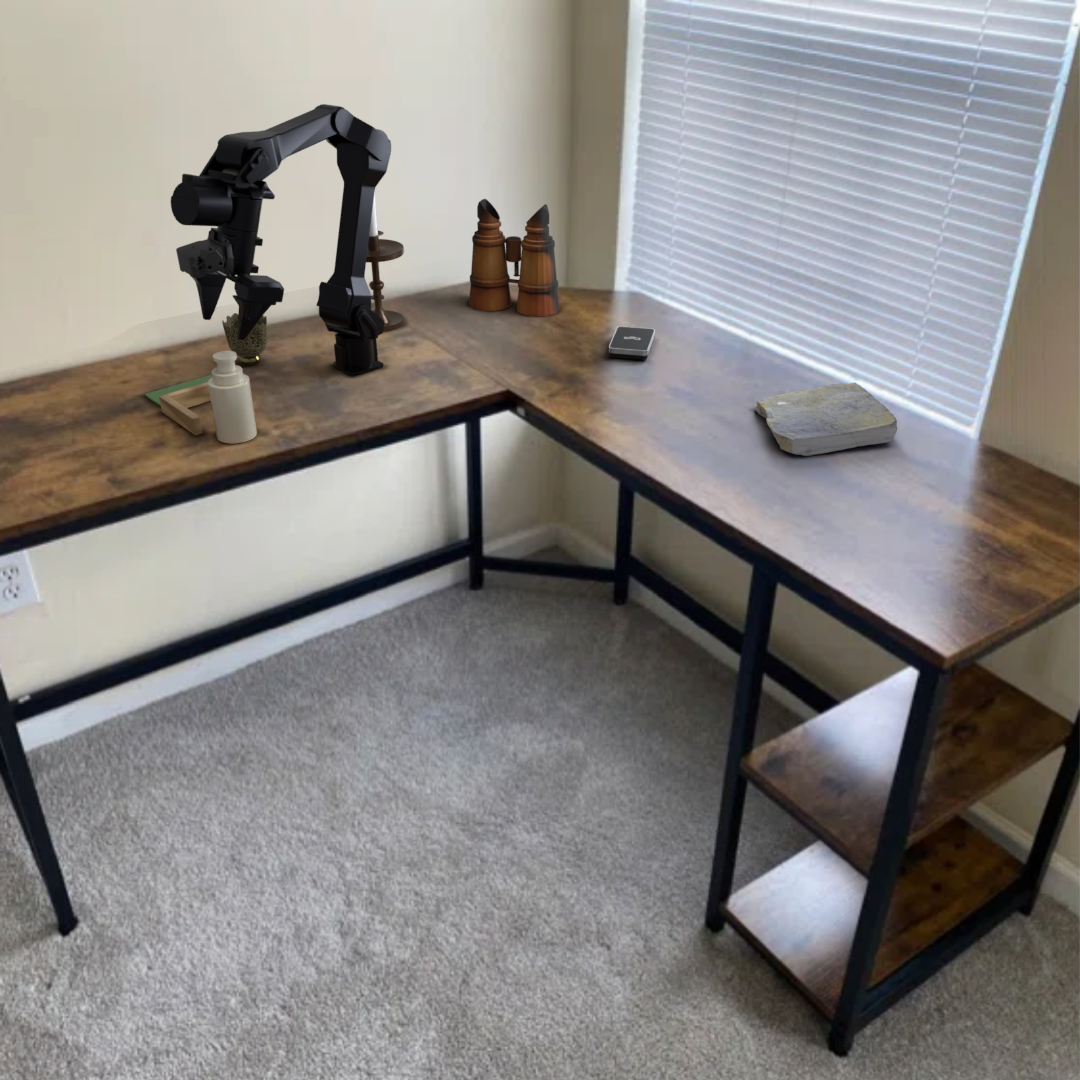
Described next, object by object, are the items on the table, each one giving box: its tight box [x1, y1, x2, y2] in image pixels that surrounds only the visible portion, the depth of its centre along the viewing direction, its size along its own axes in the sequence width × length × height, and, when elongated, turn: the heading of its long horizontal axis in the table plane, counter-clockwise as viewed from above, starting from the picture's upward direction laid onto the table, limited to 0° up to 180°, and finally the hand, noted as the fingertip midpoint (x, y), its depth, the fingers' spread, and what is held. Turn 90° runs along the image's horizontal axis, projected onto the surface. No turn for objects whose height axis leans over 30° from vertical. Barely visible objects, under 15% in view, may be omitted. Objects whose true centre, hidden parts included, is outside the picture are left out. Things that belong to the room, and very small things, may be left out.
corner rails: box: [159, 382, 211, 436], centre depth 177 cm, size 13×11×3 cm
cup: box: [221, 312, 268, 366], centre depth 193 cm, size 8×7×8 cm
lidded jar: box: [208, 350, 258, 445], centre depth 167 cm, size 6×6×13 cm
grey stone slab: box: [754, 382, 898, 457], centre depth 172 cm, size 20×5×17 cm
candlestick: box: [366, 191, 405, 332], centre depth 203 cm, size 11×11×35 cm
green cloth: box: [144, 374, 212, 408], centre depth 185 cm, size 12×6×1 cm, turn 132°
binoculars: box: [468, 198, 561, 317], centre depth 215 cm, size 18×8×20 cm, turn 72°
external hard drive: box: [608, 325, 656, 361], centre depth 200 cm, size 7×11×2 cm, turn 168°
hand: (223, 329), depth 169 cm, fingers open, 9 cm apart
